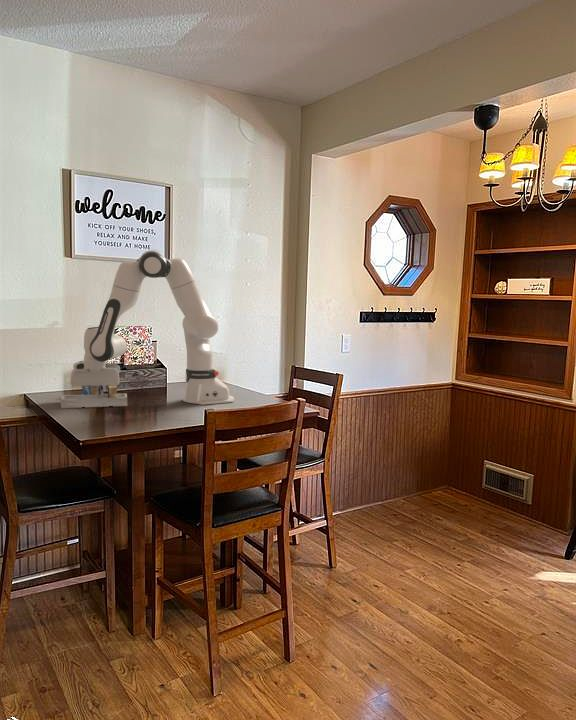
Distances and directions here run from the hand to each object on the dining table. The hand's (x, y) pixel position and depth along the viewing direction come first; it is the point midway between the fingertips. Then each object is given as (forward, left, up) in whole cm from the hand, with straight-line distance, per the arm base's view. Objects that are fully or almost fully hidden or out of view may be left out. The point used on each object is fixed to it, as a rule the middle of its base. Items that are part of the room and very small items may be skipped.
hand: (95, 395), depth 250 cm
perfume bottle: (+2, -10, -2) cm, 10 cm away
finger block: (0, 0, -2) cm, 2 cm away
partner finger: (-7, +9, -1) cm, 11 cm away
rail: (0, +9, -2) cm, 9 cm away
